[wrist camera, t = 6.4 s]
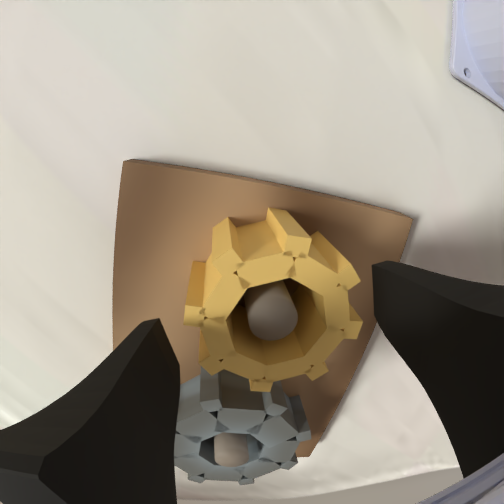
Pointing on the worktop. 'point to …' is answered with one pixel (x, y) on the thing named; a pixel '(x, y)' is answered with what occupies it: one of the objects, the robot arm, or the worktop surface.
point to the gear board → (254, 300)
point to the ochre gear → (261, 272)
